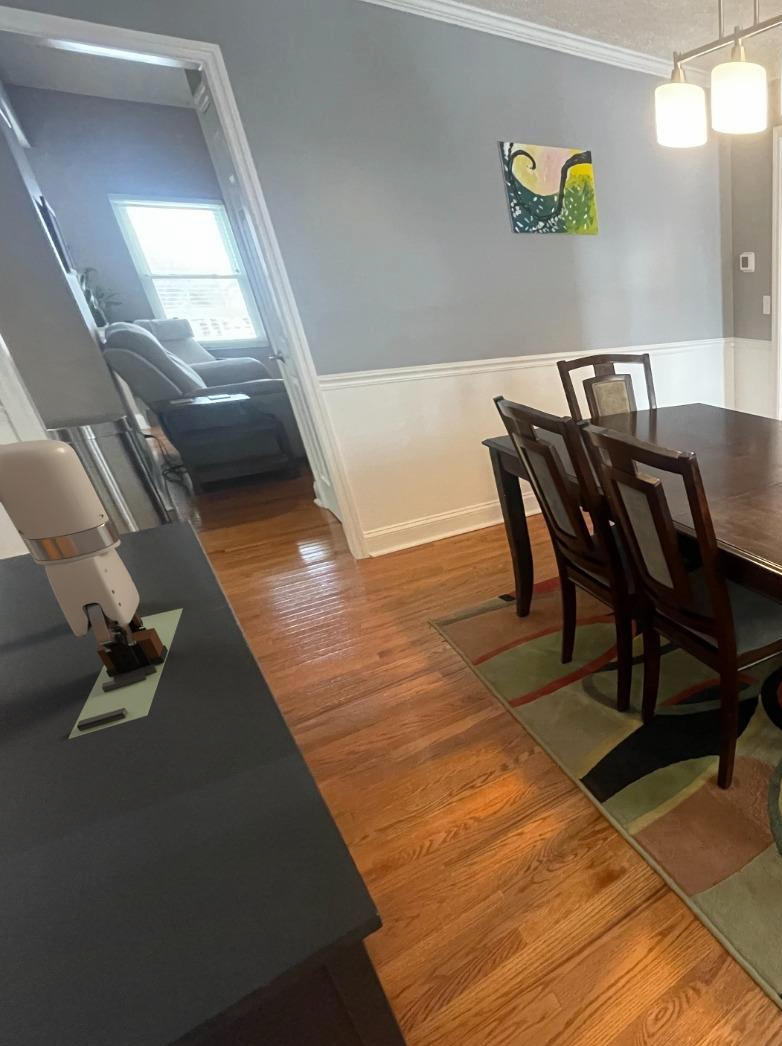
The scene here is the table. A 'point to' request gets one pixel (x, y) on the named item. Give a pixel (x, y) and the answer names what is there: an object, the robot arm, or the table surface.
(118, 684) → the chalk
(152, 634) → the eraser
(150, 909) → the table surface
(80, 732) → the board
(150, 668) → the chalk
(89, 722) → the chalk
